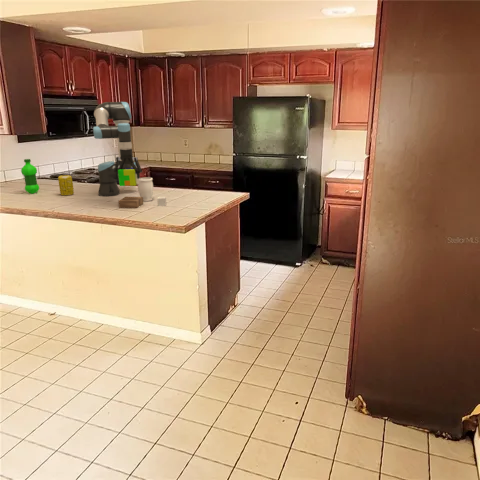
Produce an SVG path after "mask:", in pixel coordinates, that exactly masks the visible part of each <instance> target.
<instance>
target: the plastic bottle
mask: <svg viewBox="0 0 480 480" xmlns="http://www.w3.org/2000/svg"><path fill="white" fill-rule="evenodd" d="M23 162H24V163H25V164H24V166H22V167H21V169H20V172H21V174H22V175H23V178H24V183H25V186H24V190H25V191H26V192H27V193H28V194H32V195H33V194H37V193H38V192H39V190H40V186H39V184H38V182H37V176H36V175H37V173H38V169H37V167H36V166H34V165H33V164H32V163H31V162H32V161H31V158H25V159H23Z"/></svg>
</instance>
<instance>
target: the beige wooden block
mask: <svg viewBox="0 0 480 480" xmlns="http://www.w3.org/2000/svg"><path fill="white" fill-rule="evenodd" d="M156 201H157V207H163V206H164V207H165V206H166V205H167V196H158V197H157V199H156Z"/></svg>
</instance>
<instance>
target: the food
mask: <svg viewBox="0 0 480 480" xmlns="http://www.w3.org/2000/svg"><path fill="white" fill-rule="evenodd" d="M57 180H58V186H59V187H58V188H59V192H60V195H61V196H72V195H74V194H75V192H74V190H75V189H74V181H73V177H72V176H71V175H68V174H66V175H59V176H58V177H57Z"/></svg>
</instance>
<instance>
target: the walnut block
mask: <svg viewBox="0 0 480 480" xmlns="http://www.w3.org/2000/svg"><path fill="white" fill-rule="evenodd" d="M143 204H144V201H143V197H140V196H124V197H122V198H121V199H119V200H118V208H119V209H138V208H140V207H141V206H142V205H143ZM139 206H140V207H139Z"/></svg>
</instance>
